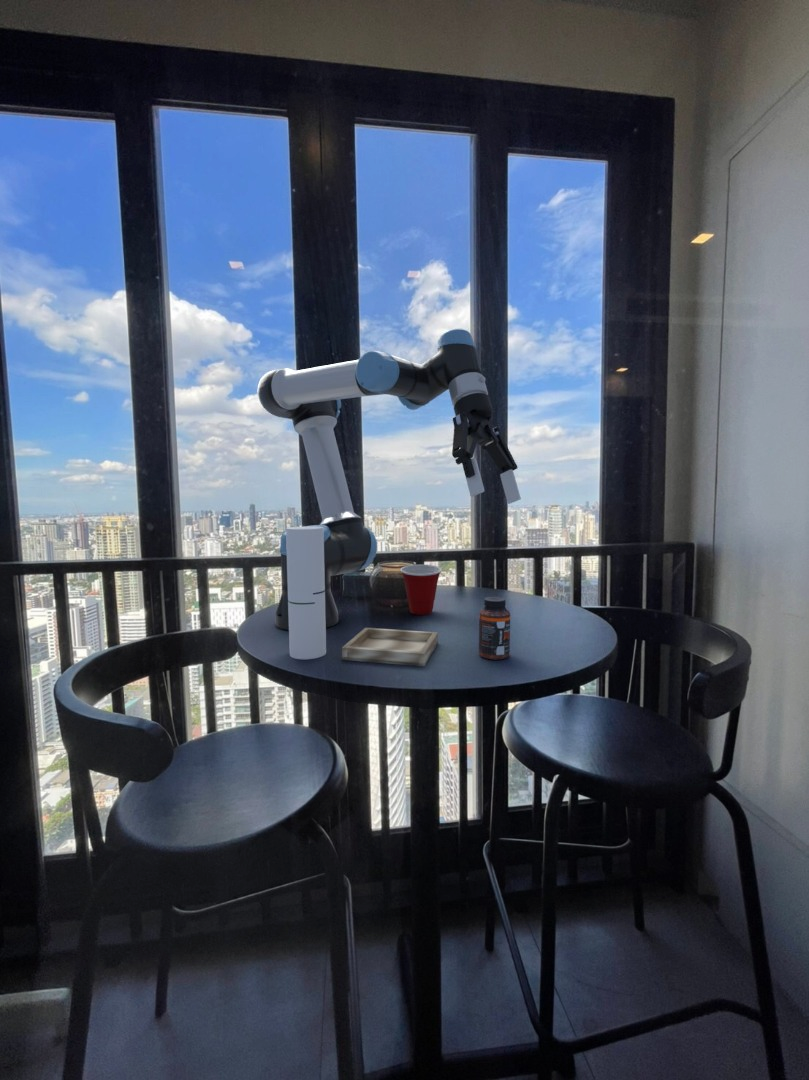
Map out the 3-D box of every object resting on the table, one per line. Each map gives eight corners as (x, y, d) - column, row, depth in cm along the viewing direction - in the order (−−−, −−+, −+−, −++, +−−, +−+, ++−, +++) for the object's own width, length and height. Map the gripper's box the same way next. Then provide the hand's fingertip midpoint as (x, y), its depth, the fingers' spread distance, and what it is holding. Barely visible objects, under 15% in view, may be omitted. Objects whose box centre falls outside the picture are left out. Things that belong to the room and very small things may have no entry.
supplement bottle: (509, 661, 93) (510, 602, 92) (477, 659, 94) (478, 601, 93) (509, 651, 99) (510, 595, 98) (479, 650, 100) (480, 594, 99)
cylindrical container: (333, 653, 99) (330, 527, 96) (303, 662, 93) (299, 530, 91) (312, 645, 104) (309, 526, 101) (282, 653, 98) (278, 528, 96)
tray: (342, 659, 95) (342, 647, 94) (365, 638, 108) (365, 627, 108) (424, 666, 91) (424, 653, 91) (437, 643, 104) (437, 632, 104)
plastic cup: (398, 617, 126) (398, 570, 124) (402, 607, 136) (401, 564, 135) (441, 618, 125) (441, 571, 124) (441, 608, 136) (441, 564, 134)
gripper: (448, 373, 90) (477, 481, 85) (516, 407, 108) (543, 497, 103) (418, 394, 94) (443, 497, 89) (488, 423, 113) (512, 510, 108)
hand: (497, 498), depth 96 cm, fingers open, 13 cm apart
